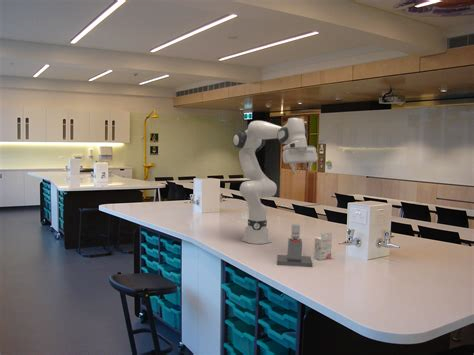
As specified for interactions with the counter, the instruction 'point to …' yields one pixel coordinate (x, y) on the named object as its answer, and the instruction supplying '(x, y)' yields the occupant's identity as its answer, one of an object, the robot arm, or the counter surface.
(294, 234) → the column
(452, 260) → the counter surface
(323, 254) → the ink cartridge box
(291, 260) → the stand base
